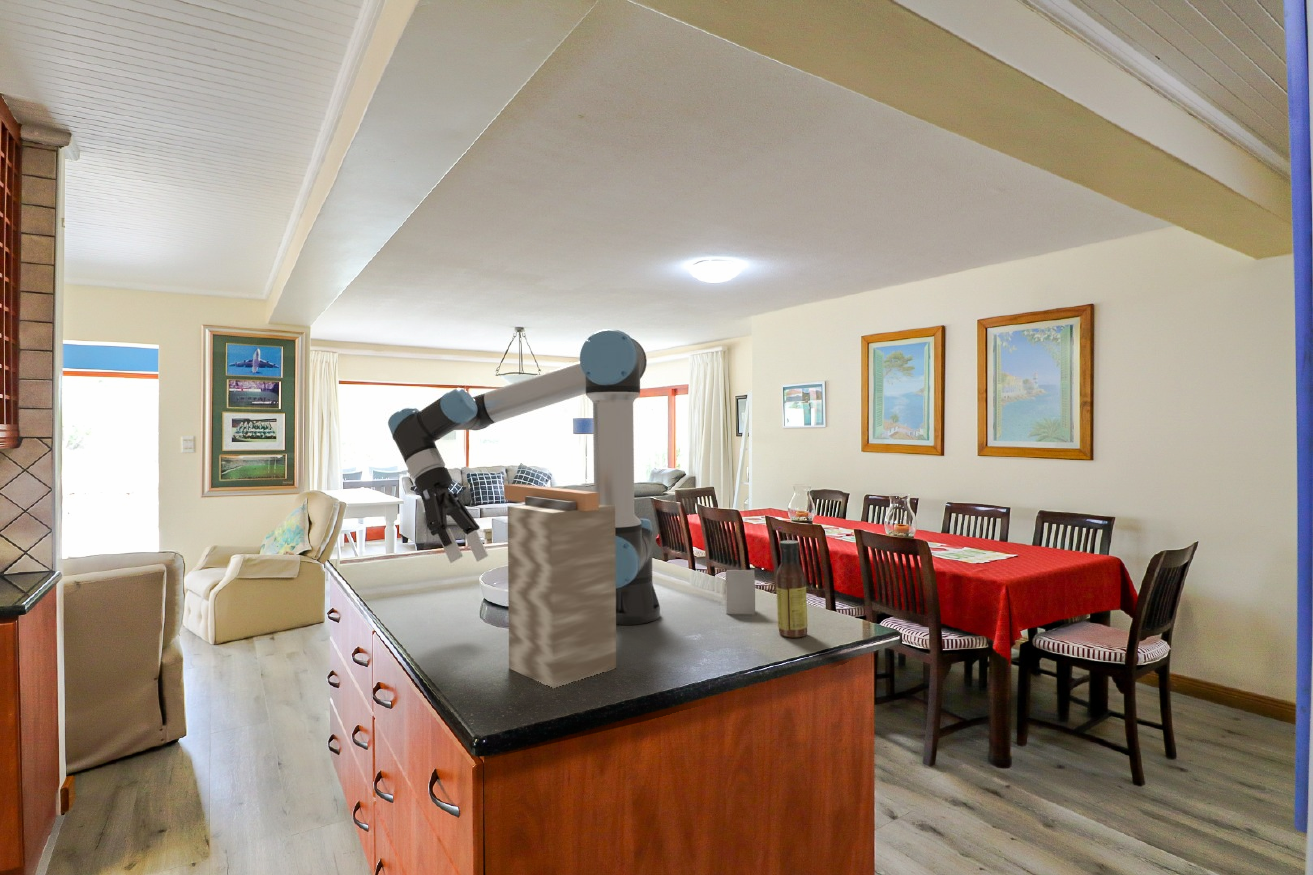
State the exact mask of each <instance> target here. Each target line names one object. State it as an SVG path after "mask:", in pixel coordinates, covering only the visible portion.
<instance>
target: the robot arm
mask: <svg viewBox="0 0 1313 875" xmlns="http://www.w3.org/2000/svg"><path fill="white" fill-rule="evenodd" d="M647 360H648V359H647V355H646V352H645V350H644V348H643V347H642V345H641V344H640V343H639V342H638V340H635V339H634V338H632V337H631V336H630V335H629V334H627V333H626V332H624V331H622V330H618V329H610V328H609V329H601V330H598V331H595V332H594V333H592V334H591V335H590V336H589V337H588V338H586V340H585V341H584V343H583V345H582V346H581V348H580V353H579V361H577V362H574V363H571V364H567V365H565V366H561V367H559V368H556V369H553V370H550V371H546V372H545V373H541V374H537V375H535V376H532V377H528V378H526V379H523V380H521V381H517V382H514V383H510V384H508V385H505V386H503V387H500V388H497V389H494V390H489V391H487V392H485V393H481V394H478V395H475V396H473V397H472V395H471V394H470V393H469V392H468V391H466V390H465V389H464V388H462V387H457V388H455V389H453V390H451V391H449V392H446V393H444V394H443V395H442V396H441V397H439V398H438V399H436V400H435V401H434V402H432V403H430V404H428V405H427V406H426V407H424V408H422V409H421V410H419V409H418V408H417V407H412V406H411V407H405V408H402V409H401V410H398V411H396V412H394V413H393V414H391V416H390V417H389V418H388V421H387V425H388V429H389V431H390V433H391V437H392V439H393V441H394V442H395V444H396V446H397V449H398V450H399V452H400V454H401V457H402V459H403V461H404V464H405V465H406V467H407V470H406V471H407V473H408V474H409V475H410V476H411V478H412V479H413V480H414V481H413V482H414V485H415V487H416V489H417V492H418V493H419V495H420V498H421V500H422V504H423V508H424V511H425V512H424V514H425V517H426V518H425V519H426V523H427V527H428V530H429V531H430V534H431V535H432V537H434V536H437V537H438V540H439V542H440V543H441V545H442V548H443V550H444V552H445V555H446V557H447V558H448V561H449V563H450V564H452V563H454V562H456V561H457V560H459V559H461V558H463V557H464V555H463V553H462V551H461V549H460V547H459V544H458V543H457V541H456V538H455V536H454V534H453V531H452V530H451V528H450V527H449V528H448V523H447V522H448V520H447V518H448V517H449V516H450V518H451V519H452V520H453V521H454V522H455V523H456V524H457V526H458V527H459V528H460V529H461V530H462V531H463V532H464V534H466V535H464V538H465V539H466V541H467V544H468V545H469V547H470V548H469V549H470V550H471V552H472V554H473V556H474V558H475V560H476V562H477V563H478V562H481V561H482V560H484V559H485V558H487V557H489V554H488V551H487V549H486V548H485V545H484V543H483V541H482V539H481V537H480V535H479V532H478V530H480V529H481V527H480V525H479V524H478V523H477V521H476V520H475V519H474V517H473V516H472V514H471V513H470V512H469V510H468V508H467V507H466V506H465V504H464V503H463V501H462V500H461V498H460V495H459V493H457V492H453V493H452V492H451V491H450V490H449V488H450V486H452V483H453V478H452V476H451V474H450V471H449V469H448V468H447V467H445V466H446V463H445V461H444V459H443V457H442V455H441V452H440V451H439V449H438V448H437V445H436V442H437V441H440V439H442V438H444V437H445V436H447V435H448V434H450V433H451V432H453V431H480V430H484V429H486V428H488V427H490V425H494V424H496V423H498V422H501V421H504V420H508V419H510V418H515V417H517V416H520V415H523V414H526V413H530V412H532V411H535V410H538V409H541V408H542V409H543V408H545V407H549V406H552V405H555V404H558V403H560V402H564V401H567V400H570V399H573V398H577V397H578V396H582V395H585V396H586V397H587V398H588V399H589V400H590V401H591V402H592V422H593V423H592V426H593V427H592V428H593V429H592V432H593V434H592V436H593V437H592V438H593V492H599V504H604V505H612V506H615V557H616V625H622V626H630V625H631V626H633V625H642V624H647V623H652V622H655V621H657V620H658V619H660V617H661V605H660V603H659V599H658V596H657V593H656V590H655V586H654V584H653V583H654V582H653V535H654V530H653V524H652V521H651V520H650V519H648V518H639V517H638V516H637V515H636V514H635V455H634V454H635V452H634V450H635V449H634V444H635V442H634V402H635V401H636V400H637V398H638V397H639V396H641V379H642V378H643V376H644V374H645V372H646V369H647V362H648V361H647Z"/></svg>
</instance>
